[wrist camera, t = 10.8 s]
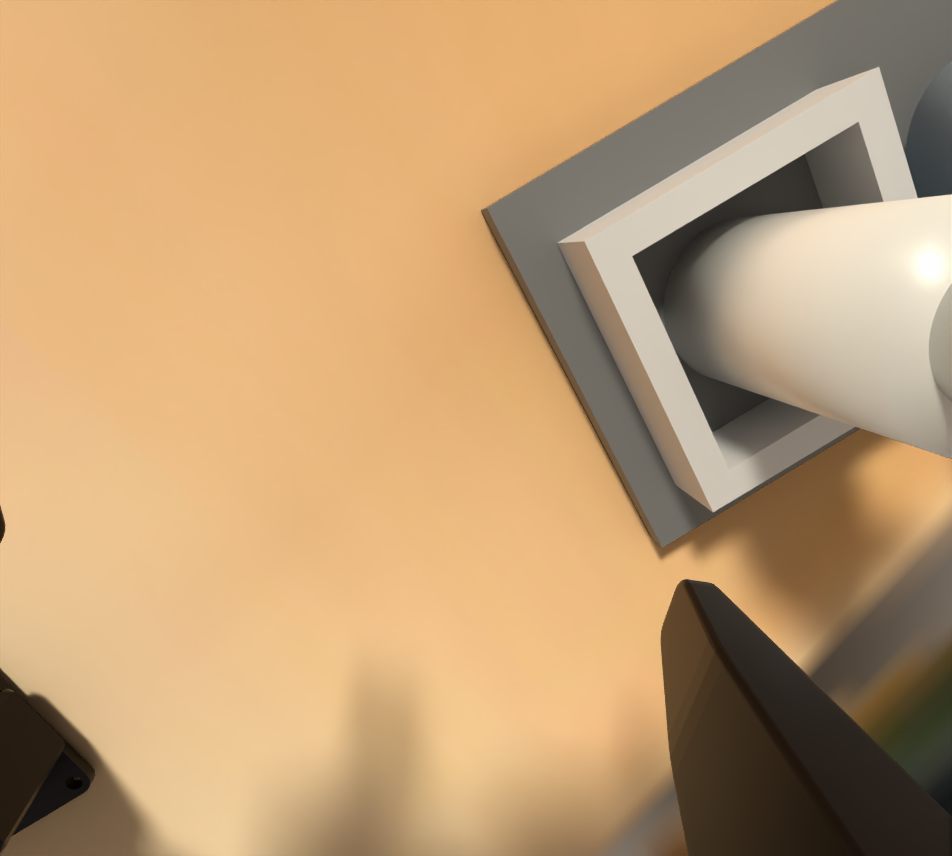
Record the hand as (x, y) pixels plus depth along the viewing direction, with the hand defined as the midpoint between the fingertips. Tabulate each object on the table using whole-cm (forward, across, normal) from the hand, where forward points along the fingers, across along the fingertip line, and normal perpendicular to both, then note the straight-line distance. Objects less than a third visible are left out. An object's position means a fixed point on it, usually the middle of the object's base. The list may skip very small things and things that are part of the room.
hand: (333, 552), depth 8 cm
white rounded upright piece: (+14, -9, 0) cm, 17 cm away
